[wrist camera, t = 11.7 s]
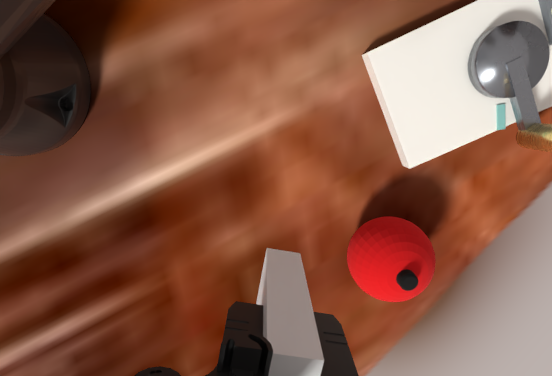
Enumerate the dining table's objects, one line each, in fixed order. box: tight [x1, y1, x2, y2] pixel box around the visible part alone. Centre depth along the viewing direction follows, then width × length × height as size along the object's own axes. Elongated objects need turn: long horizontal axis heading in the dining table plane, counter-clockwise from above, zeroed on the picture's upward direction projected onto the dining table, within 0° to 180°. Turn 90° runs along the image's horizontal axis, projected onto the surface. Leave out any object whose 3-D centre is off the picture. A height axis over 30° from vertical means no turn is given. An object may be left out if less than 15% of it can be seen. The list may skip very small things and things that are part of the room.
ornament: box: [347, 216, 435, 302], centre depth 37 cm, size 9×9×10 cm
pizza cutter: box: [468, 21, 552, 152], centre depth 30 cm, size 13×7×10 cm, turn 25°
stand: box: [362, 0, 552, 169], centre depth 35 cm, size 13×20×4 cm, turn 115°
